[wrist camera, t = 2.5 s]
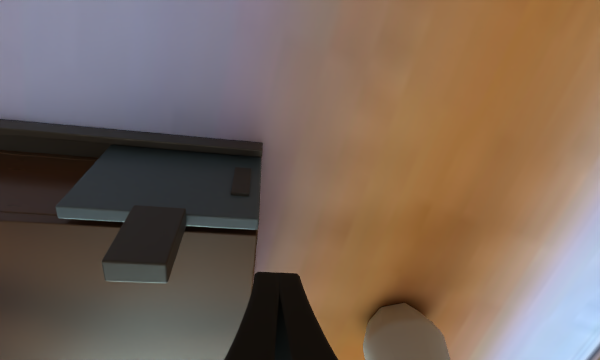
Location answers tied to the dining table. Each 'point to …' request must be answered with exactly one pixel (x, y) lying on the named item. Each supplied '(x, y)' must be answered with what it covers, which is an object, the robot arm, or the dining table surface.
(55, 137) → the cabinet
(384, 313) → the salt shaker
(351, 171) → the dining table surface
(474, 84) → the dining table surface
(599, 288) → the dining table surface
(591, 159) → the dining table surface
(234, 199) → the door
